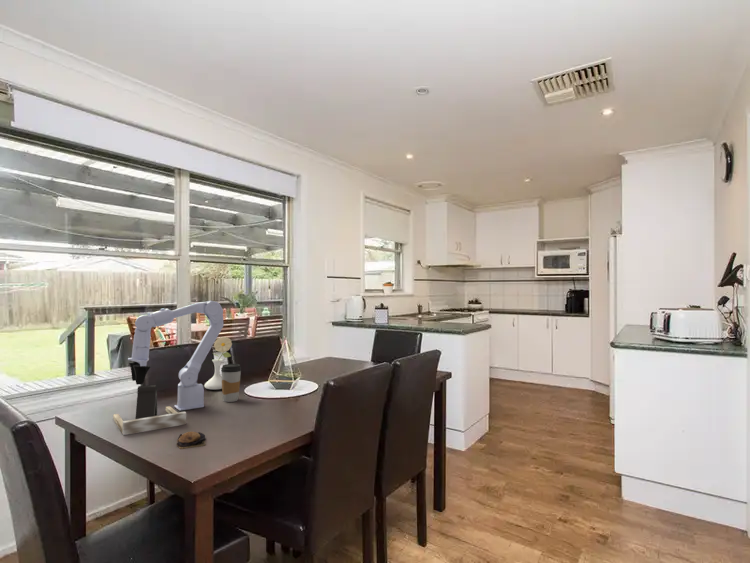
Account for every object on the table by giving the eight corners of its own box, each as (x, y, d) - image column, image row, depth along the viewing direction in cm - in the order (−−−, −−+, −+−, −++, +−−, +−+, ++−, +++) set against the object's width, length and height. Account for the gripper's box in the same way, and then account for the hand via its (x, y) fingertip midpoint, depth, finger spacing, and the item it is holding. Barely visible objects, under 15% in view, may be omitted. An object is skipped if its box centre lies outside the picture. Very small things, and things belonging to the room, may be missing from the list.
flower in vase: (199, 390, 199) (200, 337, 200) (212, 385, 210) (213, 334, 211) (224, 392, 197) (226, 338, 198) (236, 386, 208) (238, 335, 209)
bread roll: (207, 447, 130) (207, 435, 130) (176, 451, 126) (177, 439, 126) (203, 436, 140) (204, 425, 140) (175, 440, 136) (175, 428, 136)
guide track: (170, 410, 167) (170, 399, 167) (185, 424, 150) (186, 412, 150) (113, 418, 155) (113, 407, 155) (123, 435, 138) (123, 422, 138)
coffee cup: (244, 399, 184) (245, 364, 185) (228, 403, 177) (229, 367, 178) (232, 396, 189) (232, 362, 189) (216, 400, 182) (216, 365, 182)
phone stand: (153, 421, 152) (154, 388, 153) (134, 423, 150) (135, 389, 151) (157, 414, 161) (158, 382, 161) (139, 416, 159) (140, 383, 159)
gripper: (126, 344, 167) (122, 379, 166) (133, 349, 155) (129, 386, 154) (146, 344, 171) (142, 378, 170) (154, 349, 160) (150, 385, 159)
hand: (137, 382), depth 163 cm, fingers open, 7 cm apart
